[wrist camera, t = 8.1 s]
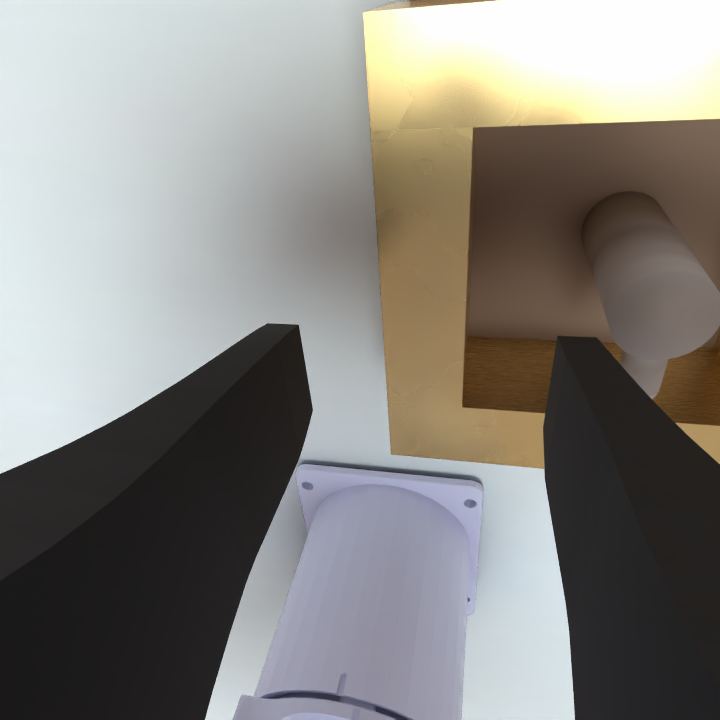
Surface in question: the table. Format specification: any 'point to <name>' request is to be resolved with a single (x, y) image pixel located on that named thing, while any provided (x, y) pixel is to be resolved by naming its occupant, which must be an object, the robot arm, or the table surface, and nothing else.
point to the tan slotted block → (456, 194)
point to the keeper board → (550, 207)
